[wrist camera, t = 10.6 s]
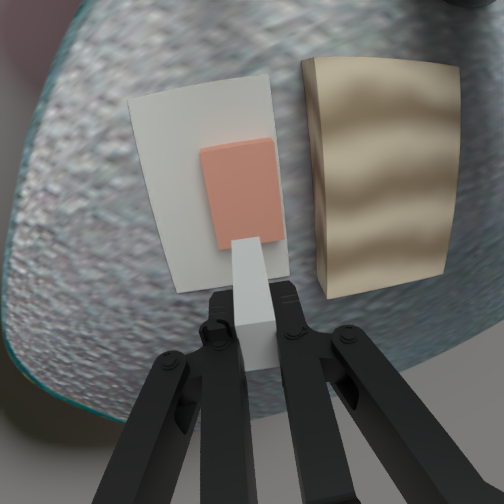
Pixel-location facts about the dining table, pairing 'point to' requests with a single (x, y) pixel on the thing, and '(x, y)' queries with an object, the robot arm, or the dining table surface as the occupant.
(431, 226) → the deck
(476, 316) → the dining table surface
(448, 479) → the robot arm
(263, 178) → the block
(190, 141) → the mat
